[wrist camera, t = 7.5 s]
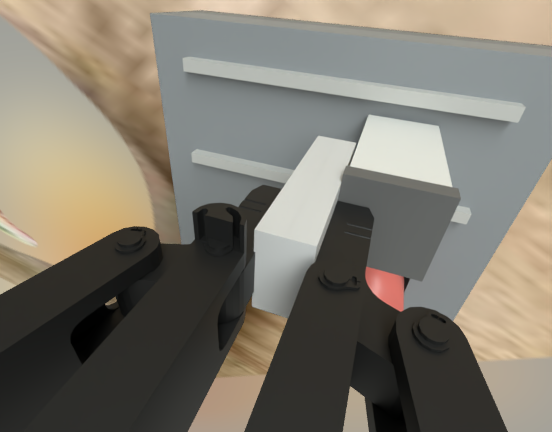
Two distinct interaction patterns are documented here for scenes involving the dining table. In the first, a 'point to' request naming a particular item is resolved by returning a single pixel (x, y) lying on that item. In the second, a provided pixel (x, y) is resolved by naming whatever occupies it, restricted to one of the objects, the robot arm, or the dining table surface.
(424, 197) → the slider knob
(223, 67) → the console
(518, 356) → the dining table surface
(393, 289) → the button red
